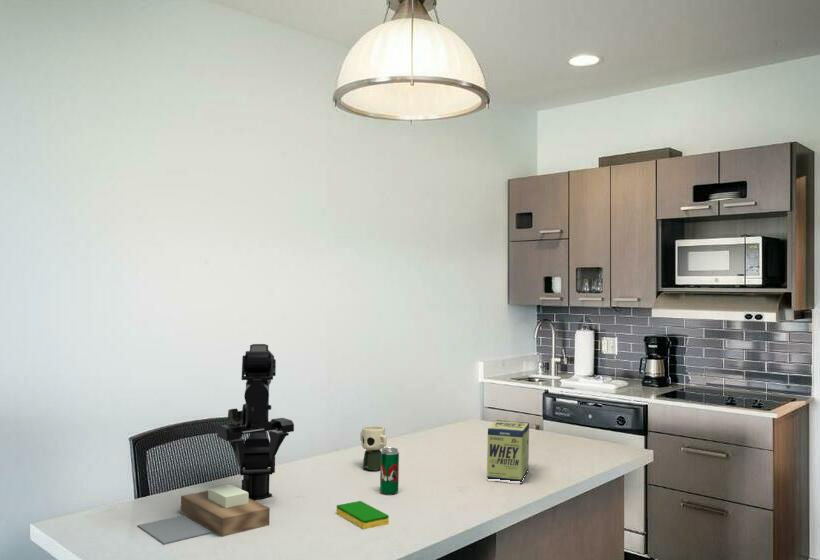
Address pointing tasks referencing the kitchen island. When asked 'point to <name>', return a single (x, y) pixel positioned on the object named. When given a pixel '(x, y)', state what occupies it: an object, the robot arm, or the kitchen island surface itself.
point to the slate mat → (174, 529)
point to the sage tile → (228, 496)
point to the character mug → (373, 445)
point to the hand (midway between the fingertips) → (256, 463)
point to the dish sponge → (362, 514)
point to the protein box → (508, 450)
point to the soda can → (389, 470)
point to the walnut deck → (224, 514)
